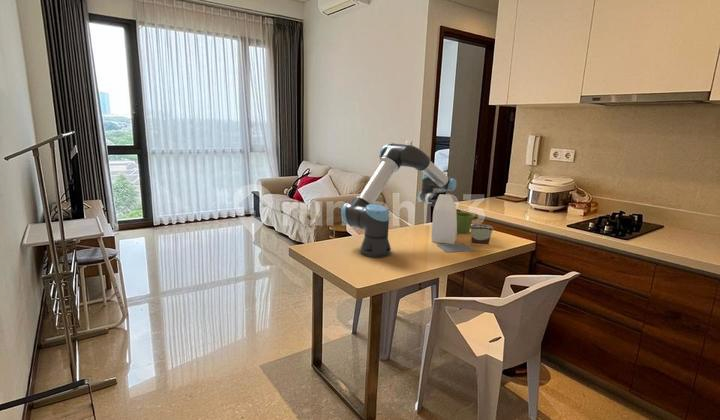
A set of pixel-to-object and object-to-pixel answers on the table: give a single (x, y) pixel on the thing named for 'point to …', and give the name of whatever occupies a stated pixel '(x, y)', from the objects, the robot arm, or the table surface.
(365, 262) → the table surface
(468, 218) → the plant pot
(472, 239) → the food container
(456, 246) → the mat
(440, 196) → the milk
